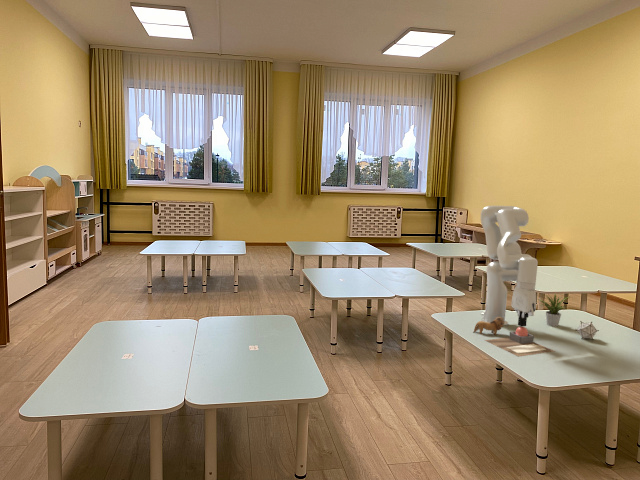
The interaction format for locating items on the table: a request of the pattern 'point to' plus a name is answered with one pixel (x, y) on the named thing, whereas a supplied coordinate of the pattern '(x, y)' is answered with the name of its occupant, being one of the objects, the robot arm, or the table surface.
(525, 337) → the dome housing
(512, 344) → the brown flat square board
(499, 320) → the lion figurine
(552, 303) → the house plant
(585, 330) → the game die
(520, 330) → the pop dome
